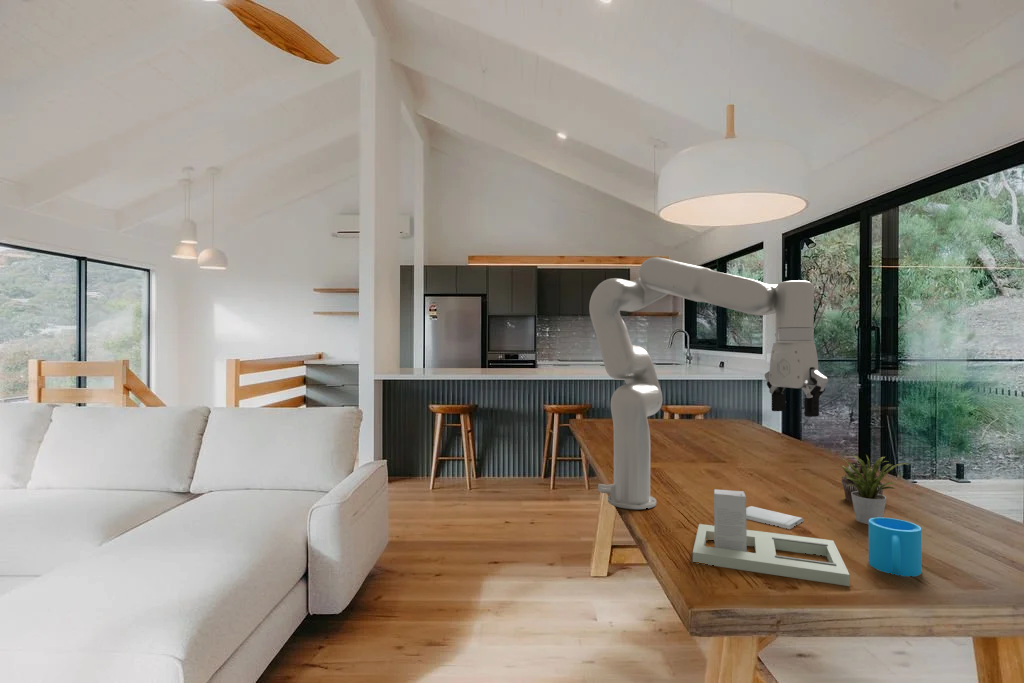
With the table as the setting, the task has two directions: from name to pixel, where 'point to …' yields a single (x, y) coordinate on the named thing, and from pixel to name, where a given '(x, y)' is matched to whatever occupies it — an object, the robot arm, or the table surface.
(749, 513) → the hard drive
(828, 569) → the socket board
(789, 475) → the table surface
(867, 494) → the house plant
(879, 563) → the mug
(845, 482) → the cupcake
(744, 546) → the skincare box
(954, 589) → the table surface
